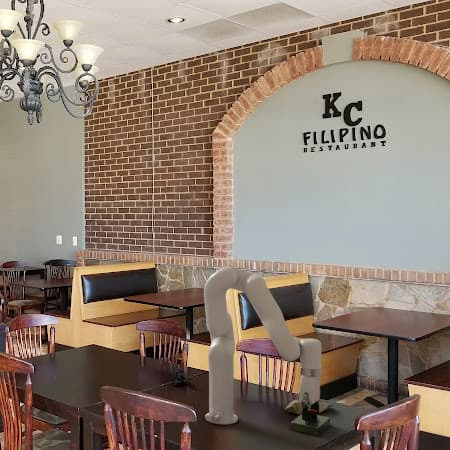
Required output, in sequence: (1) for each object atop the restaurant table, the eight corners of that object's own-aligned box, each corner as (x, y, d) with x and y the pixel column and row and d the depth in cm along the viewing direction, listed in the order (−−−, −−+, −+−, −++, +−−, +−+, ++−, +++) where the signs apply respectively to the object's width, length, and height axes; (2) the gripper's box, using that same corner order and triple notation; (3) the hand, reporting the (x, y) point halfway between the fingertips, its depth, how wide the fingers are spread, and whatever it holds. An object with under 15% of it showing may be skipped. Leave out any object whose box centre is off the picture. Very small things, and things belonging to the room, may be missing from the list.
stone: (290, 405, 245) (282, 390, 254) (286, 418, 247) (278, 403, 257) (340, 409, 247) (330, 394, 256) (336, 422, 249) (326, 406, 259)
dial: (302, 420, 232) (302, 409, 232) (306, 416, 236) (306, 406, 236) (315, 422, 229) (315, 412, 229) (319, 419, 233) (319, 408, 233)
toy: (180, 388, 284) (166, 380, 298) (195, 388, 286) (181, 380, 301) (181, 374, 284) (167, 367, 299) (196, 374, 287) (182, 367, 301)
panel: (317, 435, 224) (318, 427, 224) (290, 430, 230) (290, 421, 230) (330, 425, 235) (330, 417, 235) (303, 420, 241) (303, 412, 241)
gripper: (308, 366, 242) (308, 409, 242) (292, 375, 228) (292, 421, 228) (327, 368, 237) (327, 413, 237) (313, 378, 223) (313, 425, 224)
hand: (310, 417), depth 233 cm, fingers open, 9 cm apart
